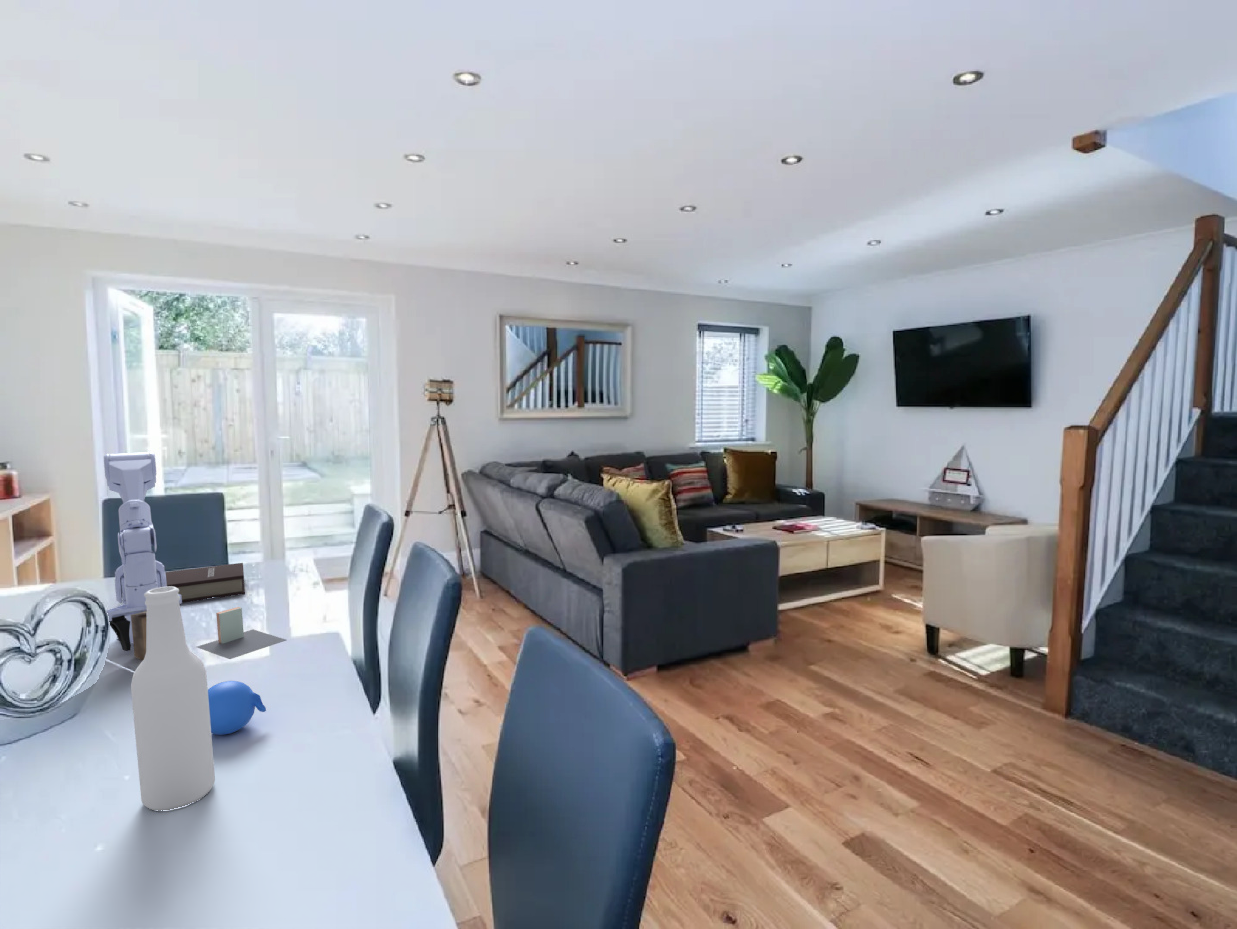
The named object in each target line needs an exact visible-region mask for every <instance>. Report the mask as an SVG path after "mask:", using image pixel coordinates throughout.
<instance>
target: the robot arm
mask: <svg viewBox="0 0 1237 929" xmlns="http://www.w3.org/2000/svg"><path fill="white" fill-rule="evenodd" d="M156 465H157V463H156V455H155V452H153V451H151V450H150V451H144V452H141V451H140V452H126V453H105V454H104V455H103V467H104V476H105V479H106V486H107V487H108V490H109V491H111V492H114V493H118V494H119V496H120V499H121V500H122V504H121V505H120V506H119V508H118V520H119V521H118V523H119V524H118V525H119V532H118V533H117V544H118V552H119V555H120V559H121V565H120V566H118V567H117V568H116V570H115V571H114V577H115V578H114V588H115V589H114V590H115V598H116V602H118V603H119V604H121V605H119V606H116V607H113V608H110V609H107V613H108V616H109V622H110V625H109V627H111V629H112V631H113V632H114V633H115V635H116V639H118V641H119V643H120V645H121V649H122V651H125V652H130V651H131V648H132V647H131V646H132V645H134V644H133V633H132V622H131V615H133V614H137V613H141V612H145V611H147V606H146V605H145V601H146V597H145V596H144V594H145V593H146V592H147V591H149V590H151V589H155V588H160V587H167V582H166V573H165V572H166V571H165V565H164V564H163V563H162V562H161V561H158V560H157V559H156V554H155V553H156V552H157V548H158V547H157V546H158V545H157V536H156V535H157V534H156V529H155V528H154V524H153V522H152V513H151V506H150V505H149V504H148V503H147V502H146V501H145V498H146V497H147V496H146V495H147V492H148V491H149V490H151V489H153V488H155V487H156V483H157V466H156ZM152 546H153V548H154V551H153V550H152V549H153V548H152ZM178 596H180V600H179V605H180V604H183V603H182V598H181V595H179V594H178ZM131 644H132V645H131Z"/></svg>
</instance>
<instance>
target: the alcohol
mask: <svg viewBox="0 0 1237 929" xmlns="http://www.w3.org/2000/svg"><path fill="white" fill-rule="evenodd" d="M178 592H179V589H178V588H176V587H171V586H169V587H160V588H155V589H151V590H149V591H147V592H146V593H145V594H144V596H145V597H146V601H145V605H146V606H147V621H146V654H145V658H144V660H141V662H140V664H138V666H137V668H136V669H135V671H134V672H133V675H132V678H131V685H130V692H131V693H130V694H131V706H132V715H133V726H134V735H135V747H136V757H137V767H138V768H137V769H138V778H139V779H138V781H139V788H140V791H139V792H140V800H141V803H142V805H144V807H146V808H147V809H148V808H149V809H148V810H150V809H152V810H158V811H161V810H162V811H163V810H170V809H174V808H178V807H182V806H185V805H188V804H190V803H192V802H195V801H197V800H199V799H201V798H202V797H203V798H205V797H206V796H207V795H208V794H209V793H210V791H211V790H212V788H213V786H214V785H215V782H216V775H215V763H214V749H213V740H212V739H213V736H212V733H211V724H210V711H209V699H208V689H209V688H208V678H207V669H206V667H205V664H204V662H203V659H201V658H200V656H198V655H197V654H195V653H194V652H193V651H191V650H190V648H189V646H188V644H187V640H186V632H185V626H184V622H183V618H182V617H183V616H182V611H181V607H180V604H179V600H180V596H178ZM208 792H209V793H208ZM206 794H207V795H206ZM205 795H206V796H205ZM204 796H205V797H204ZM203 798H202V799H203ZM202 799H201V800H202ZM199 801H200V800H199ZM197 802H198V801H197ZM195 803H196V802H195ZM152 810H151V811H152Z"/></svg>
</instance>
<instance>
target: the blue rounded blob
mask: <svg viewBox="0 0 1237 929" xmlns="http://www.w3.org/2000/svg"><path fill="white" fill-rule="evenodd" d="M208 699H209V711H210V724H211V734H213V735H219V736H224V735H228V734H232V733H235V732H237V731H240V730H241V729H243V728H244V727H245V726H246V725H248V723H249V722H250V721H251V719H252V718H253V715H254V714H255V709H256V710H258V711H259V712H261V713H266V711H267V709H266V708H267V707H266V706H265V705H264V704H263V701H262V698H261V696H260V694H258V693H256V692H254V691H253V690H252V688H251V687H250V686H249V685H247V684H246V683H244V682H241V681H237V680H227V681H222V682H218V683H216V684H215V685H212V686H211V687H209V688H208Z"/></svg>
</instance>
